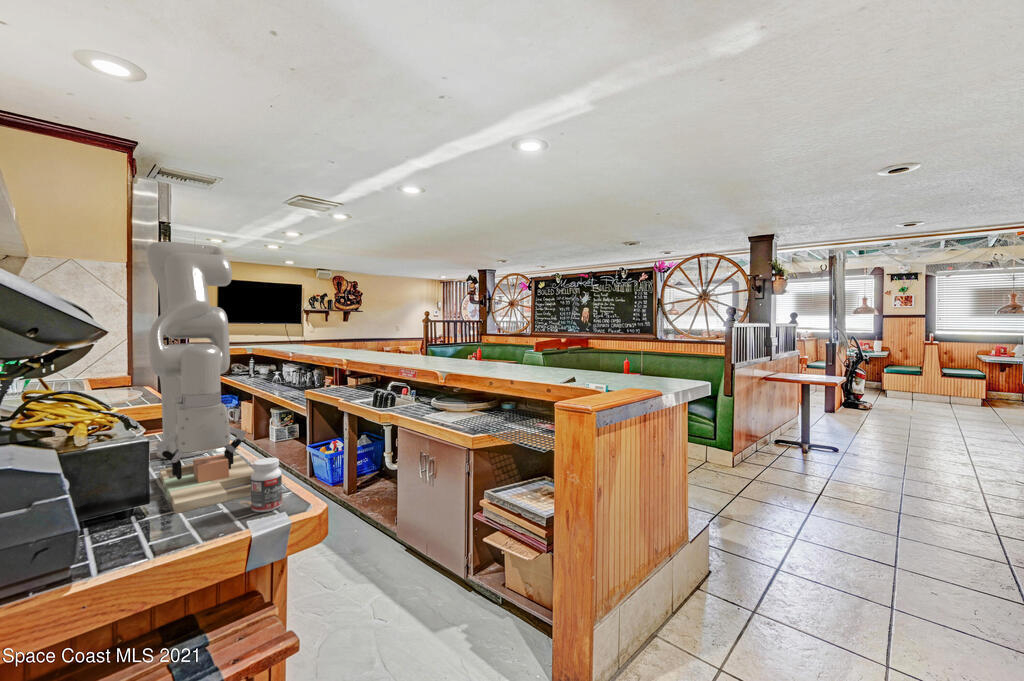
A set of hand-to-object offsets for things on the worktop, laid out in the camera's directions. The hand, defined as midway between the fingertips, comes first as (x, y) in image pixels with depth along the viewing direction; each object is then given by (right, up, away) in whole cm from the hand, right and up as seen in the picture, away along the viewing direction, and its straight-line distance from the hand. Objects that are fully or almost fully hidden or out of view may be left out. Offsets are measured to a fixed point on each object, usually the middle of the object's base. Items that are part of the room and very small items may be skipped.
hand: (204, 472), depth 105 cm
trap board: (0, -3, +1) cm, 3 cm away
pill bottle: (+21, -4, -11) cm, 24 cm away
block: (+1, -1, +1) cm, 2 cm away
